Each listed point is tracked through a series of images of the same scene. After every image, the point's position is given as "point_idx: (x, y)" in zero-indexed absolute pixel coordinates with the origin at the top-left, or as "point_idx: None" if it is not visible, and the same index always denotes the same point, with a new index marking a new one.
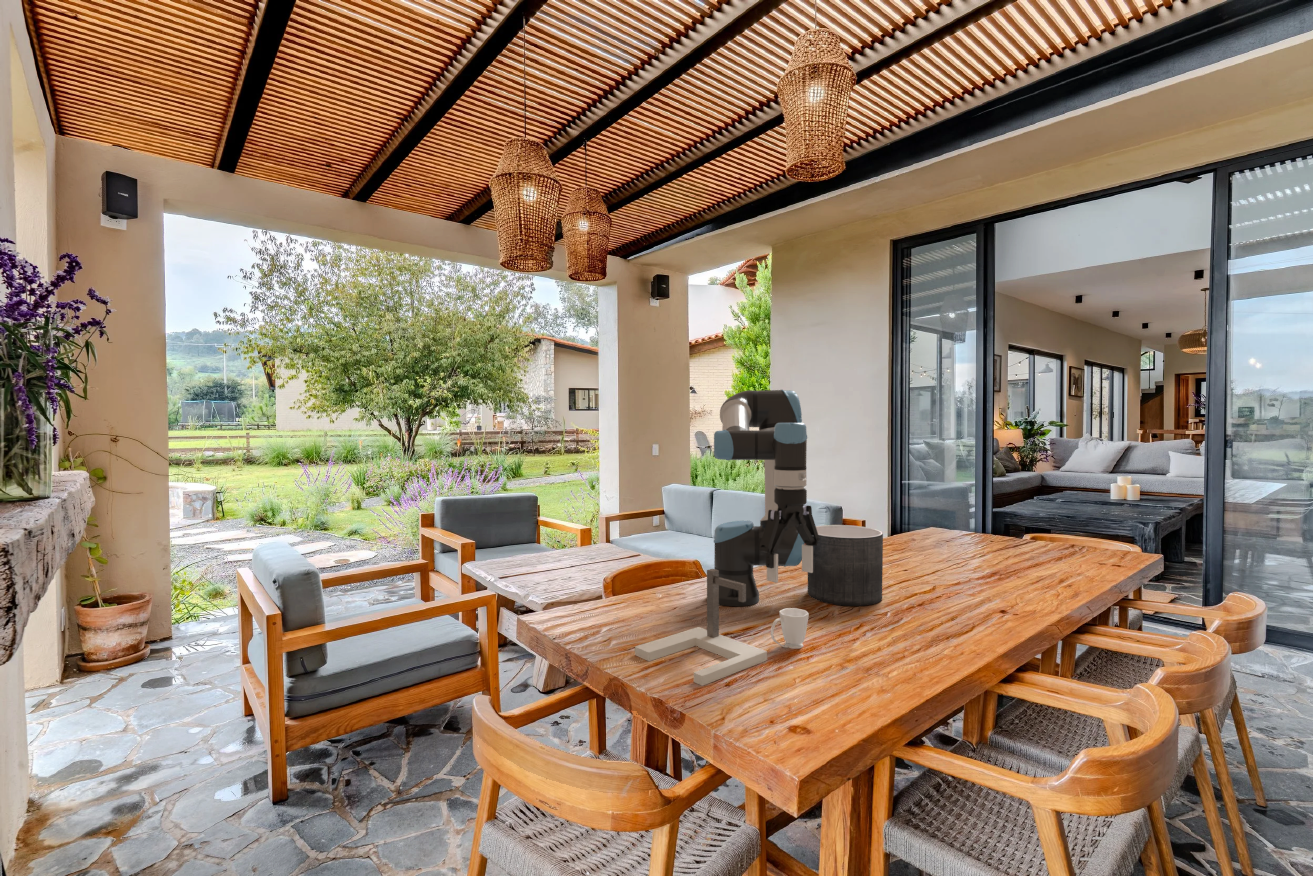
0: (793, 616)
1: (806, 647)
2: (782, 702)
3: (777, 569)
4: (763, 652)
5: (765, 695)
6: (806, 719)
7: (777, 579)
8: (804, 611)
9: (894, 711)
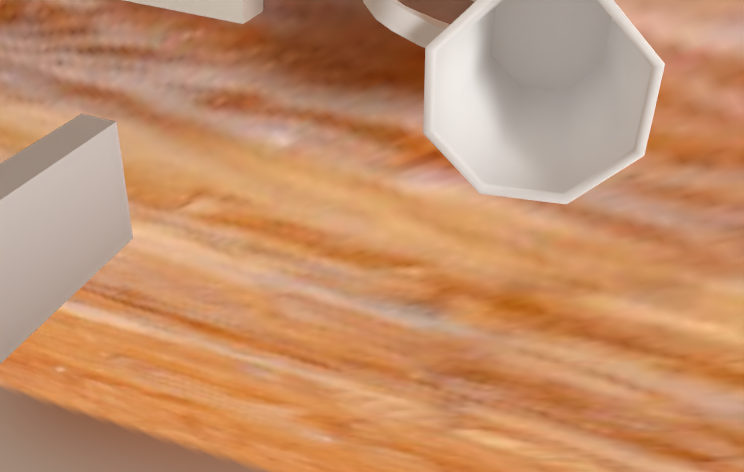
0: (434, 141)
1: None
2: None
3: (26, 325)
4: (217, 16)
5: None
6: None
7: (106, 252)
8: (632, 147)
9: (243, 454)
